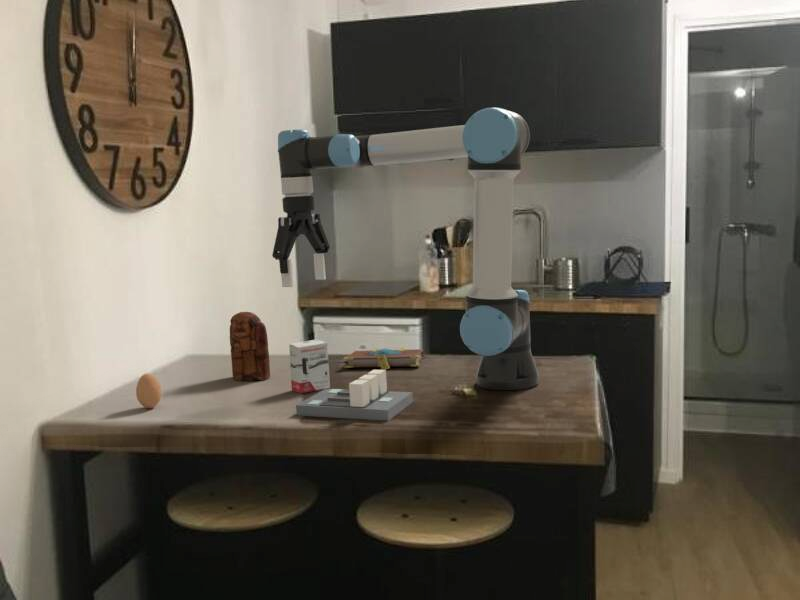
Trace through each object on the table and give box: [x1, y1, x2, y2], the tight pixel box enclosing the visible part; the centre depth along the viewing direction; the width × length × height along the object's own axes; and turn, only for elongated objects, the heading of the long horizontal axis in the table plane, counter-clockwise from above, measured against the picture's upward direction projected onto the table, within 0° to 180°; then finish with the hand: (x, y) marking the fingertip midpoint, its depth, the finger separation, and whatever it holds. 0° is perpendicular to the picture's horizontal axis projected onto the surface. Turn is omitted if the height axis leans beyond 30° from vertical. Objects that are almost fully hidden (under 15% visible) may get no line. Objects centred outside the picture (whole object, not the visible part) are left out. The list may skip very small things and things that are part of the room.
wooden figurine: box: [229, 311, 271, 382], centre depth 225 cm, size 12×6×18 cm, turn 73°
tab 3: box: [367, 369, 388, 394], centre depth 193 cm, size 3×4×5 cm
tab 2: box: [358, 374, 379, 399], centre depth 189 cm, size 3×4×5 cm
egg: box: [135, 373, 162, 409], centre depth 201 cm, size 6×6×8 cm
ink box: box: [288, 339, 331, 394], centre depth 211 cm, size 8×5×12 cm, turn 123°
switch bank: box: [295, 388, 414, 422], centre depth 191 cm, size 22×15×3 cm
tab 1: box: [348, 379, 370, 407], centre depth 184 cm, size 3×4×5 cm
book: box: [337, 347, 424, 371], centre depth 236 cm, size 16×25×5 cm, turn 82°
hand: (304, 283), depth 206 cm, fingers open, 13 cm apart
